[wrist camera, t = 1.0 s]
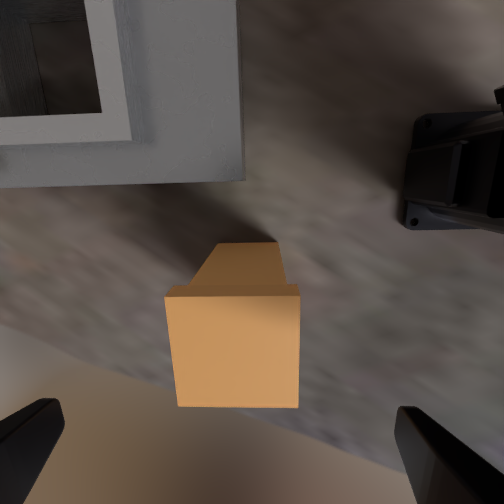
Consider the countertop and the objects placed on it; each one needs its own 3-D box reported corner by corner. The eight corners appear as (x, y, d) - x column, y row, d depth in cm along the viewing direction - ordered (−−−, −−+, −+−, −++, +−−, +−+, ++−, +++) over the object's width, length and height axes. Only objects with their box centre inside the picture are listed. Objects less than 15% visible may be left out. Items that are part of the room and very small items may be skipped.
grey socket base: (237, -67, 13) (224, -183, 9) (245, 180, 17) (238, 181, 12) (-97, -41, 14) (-253, -136, 10) (-28, 188, 18) (-124, 192, 13)
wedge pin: (282, 237, 18) (300, 295, 9) (282, 301, 19) (298, 407, 10) (213, 238, 18) (164, 296, 9) (217, 302, 19) (178, 406, 10)
